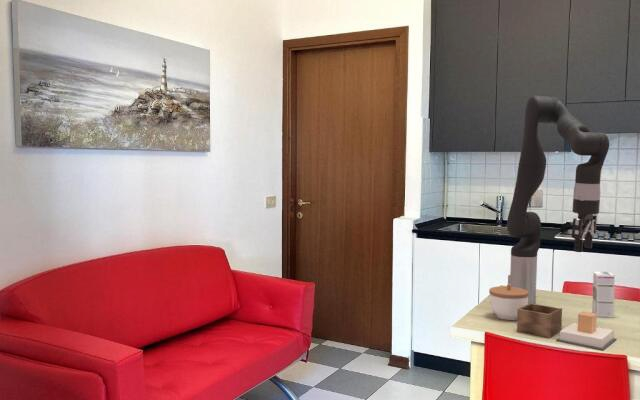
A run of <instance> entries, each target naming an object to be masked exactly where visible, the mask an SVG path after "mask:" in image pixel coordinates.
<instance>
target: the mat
mask: <svg viewBox="0 0 640 400" xmlns="http://www.w3.org/2000/svg"><path fill="white" fill-rule="evenodd" d="M555 341H556V342H559V343H563V344H569V345H574V346H578V347H584V348H587V349H588V348H589V349H593V350H598V351H605V350H606V349H607V348H609V347H610V346H611V345H613V343H615V342H616V341H617V338H614V337H613V339H612V340H611V341H610V342H608V343H607V344H606V345H605V346H604V347H602V348H599V347H594V346H589V345H584V344H579V343H574V342H569V341H564V340H560V337H558V338H556V339H555Z"/></svg>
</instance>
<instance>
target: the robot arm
mask: <svg viewBox="0 0 640 400" xmlns="http://www.w3.org/2000/svg"><path fill="white" fill-rule="evenodd" d="M539 123H541V124H543V123H544V124H550V123H551V124H555V125H556V130H557V133H558V134H559V136H560V137H561V138H563V139H564V140H565V141H566V142H567V143H568V145H569V146H570V149H571V151H572V153H574V154H576V155H578V156H581V157H582V156H585V157H586V156H590V158H589V159H588V161H586V162H583V163H579V164H578V165H577V166H576V168H575V177H574V178H575V181H574V182H575V183H574V187H573V194H572V195H573V199H572V213H573V214H577V218H576V217H575V218H574V217H573V219H572V230H571V239H573V240H574V247H573V251H574V252H575V253H582V252H583V247H584V248H585V249H592V248H593V237H594V236H595V234H597V215H598V214H599V213H600V205H601V203H600V202H601V177H602V168H603V166H604V163H605V160H606V157H607V155H608V153H609V149H610V140H609V137H608V136H607V134H606V133H604V132H597V131H596V132H592V131H591V132H590V130H589V128H588V127H587V126H586V125H585V124H584V123H582V122H581V121H580V120H578V119H577V118H576V117H574V116H573V114H572V113H570V111H569V110H568V108H567V107H566V105H565V104H564V103H563V101H561V100H560V99H559V98H558V97H556V96H555V97H554V96H549V95H547V96H546V95H531V96H530V97H529V98H528V100H527V102H526V105H525V111H524V122H523V124H524V125H523V136H522V143H521V150H520V156H519V160H518V165H517V166H518V167H517V173H516V181H515V187H514V192H513V197H512V200H511V204H510V208H509V212H508V215H507V221H506V229H507V233H508V235H509V236H511V237H512V238H520V241H519V242H518V243H516V244H514V245H513V246H512V247H511V249H510V267H509V268H510V270H509V272H510V273H509V274H508V275H507V284H510V285H511V287H517V288H522V289H525V290H527V291H528V292H529V296H528V304H530V303H532V304H537V303H536V302H537V276H538V275H537V273H538V253H539V250H540V247H541V246H540V245H541V237H542V236H541V234H542V222H541V218H540V216H539V214H537V213H536V212H534V211H528V207H529V203H530V201H531V199H532V197H533V196H534V194H535V193H536V192H537V191H538V189H539V188H540V186H541V184H542V183H543V182H544V178H545V174H546V168H547V157H546V154H545V151H544V150H543V147H542V145H541V142H540V140H539V135H538V129H539ZM528 304H527V305H528Z"/></svg>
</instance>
